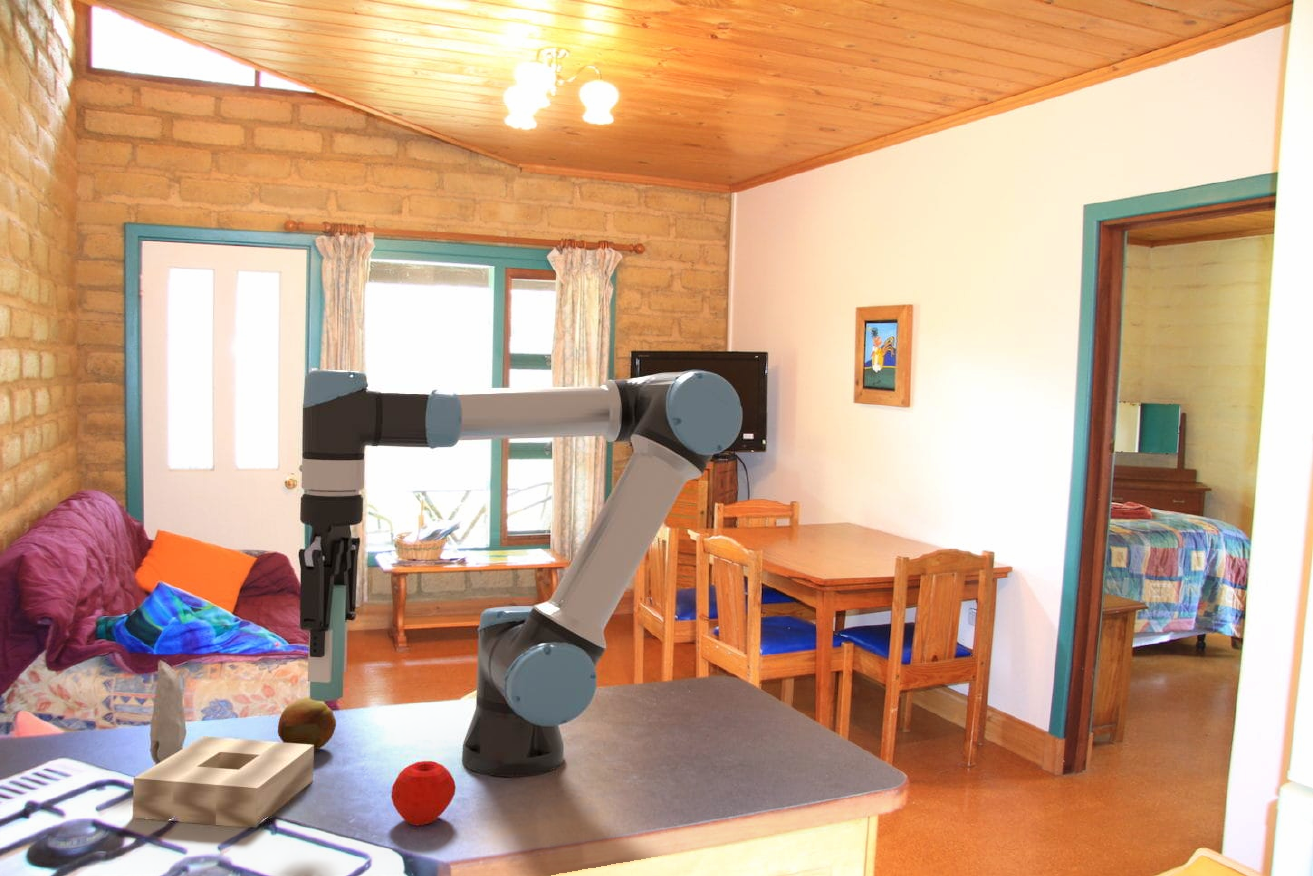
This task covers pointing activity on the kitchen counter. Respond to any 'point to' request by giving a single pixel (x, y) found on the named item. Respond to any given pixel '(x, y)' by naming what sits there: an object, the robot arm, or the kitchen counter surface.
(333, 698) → the peg
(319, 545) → the robot arm
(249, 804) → the socket block
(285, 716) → the fruit
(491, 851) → the kitchen counter surface
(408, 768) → the apple
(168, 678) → the stone tool
